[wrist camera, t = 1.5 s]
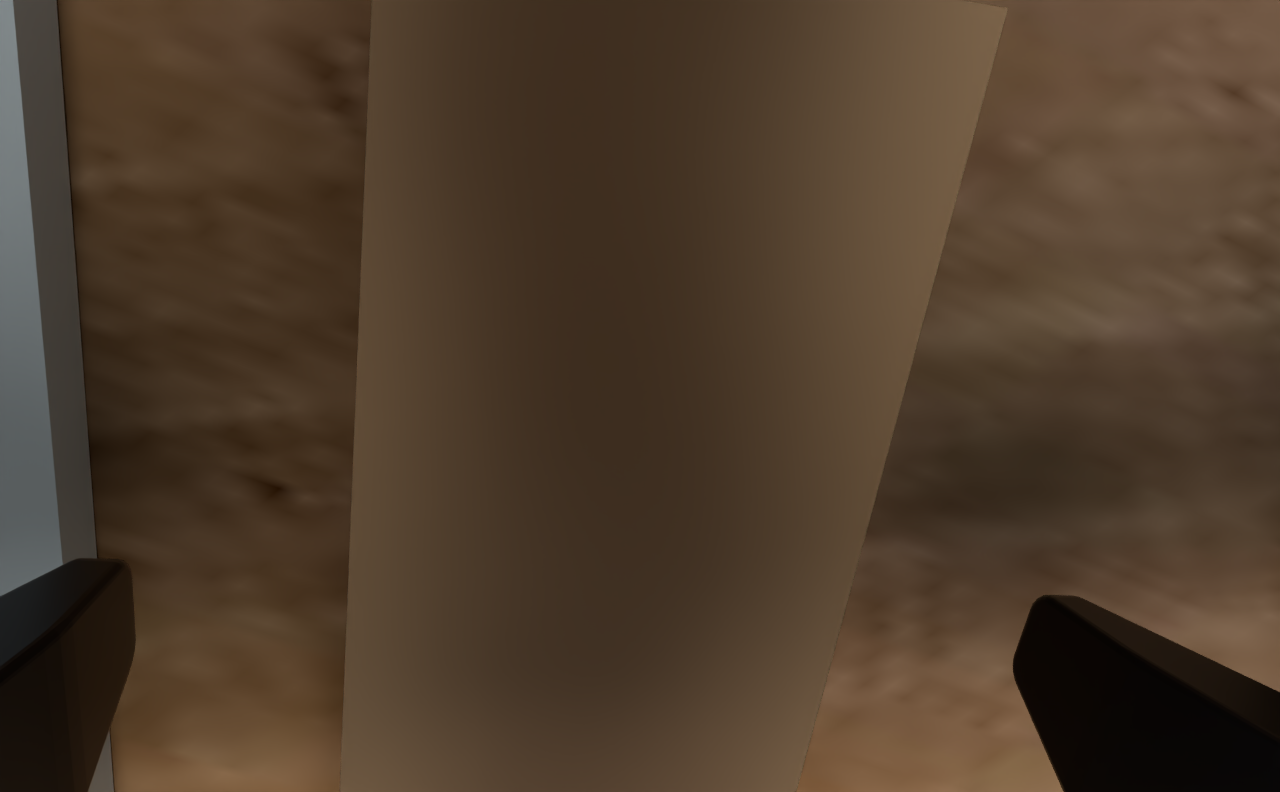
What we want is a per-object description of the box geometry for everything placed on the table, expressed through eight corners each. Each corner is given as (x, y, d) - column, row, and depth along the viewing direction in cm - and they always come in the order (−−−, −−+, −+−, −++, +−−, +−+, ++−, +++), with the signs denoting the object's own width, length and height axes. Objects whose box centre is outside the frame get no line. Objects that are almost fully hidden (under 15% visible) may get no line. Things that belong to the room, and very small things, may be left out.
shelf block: (836, 7, 11) (1008, 8, 8) (675, 776, 16) (736, 1010, 12) (410, -67, 10) (376, -105, 7) (366, 778, 15) (330, 1035, 11)
